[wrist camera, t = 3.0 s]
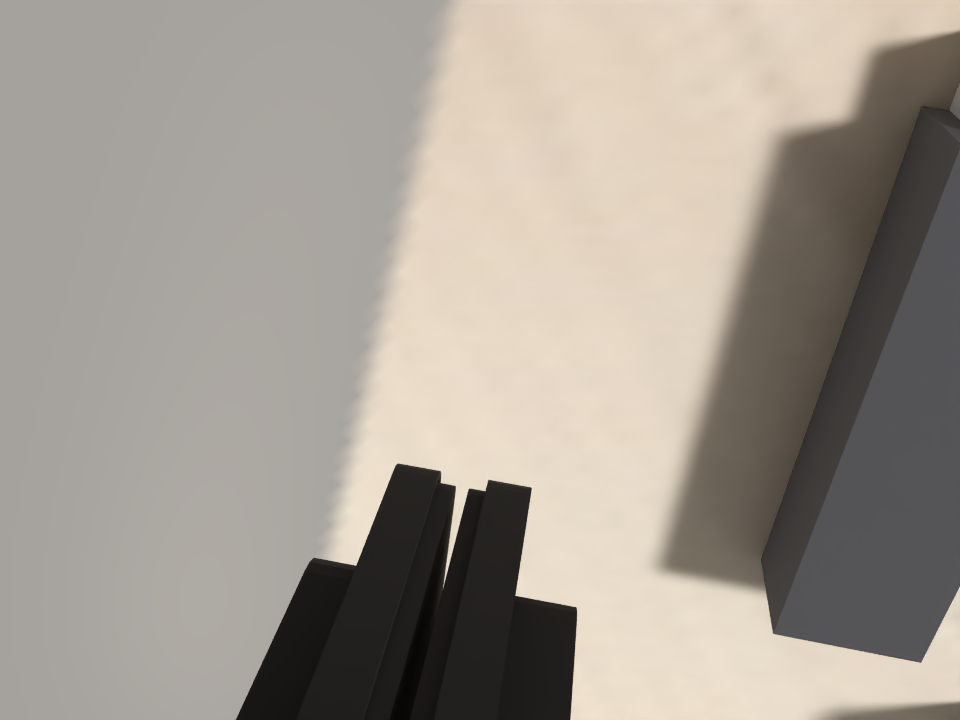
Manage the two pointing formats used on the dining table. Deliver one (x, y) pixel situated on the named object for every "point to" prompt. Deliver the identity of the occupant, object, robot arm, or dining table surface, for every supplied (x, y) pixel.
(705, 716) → the dining table surface
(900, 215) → the usb flash drive
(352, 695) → the robot arm
